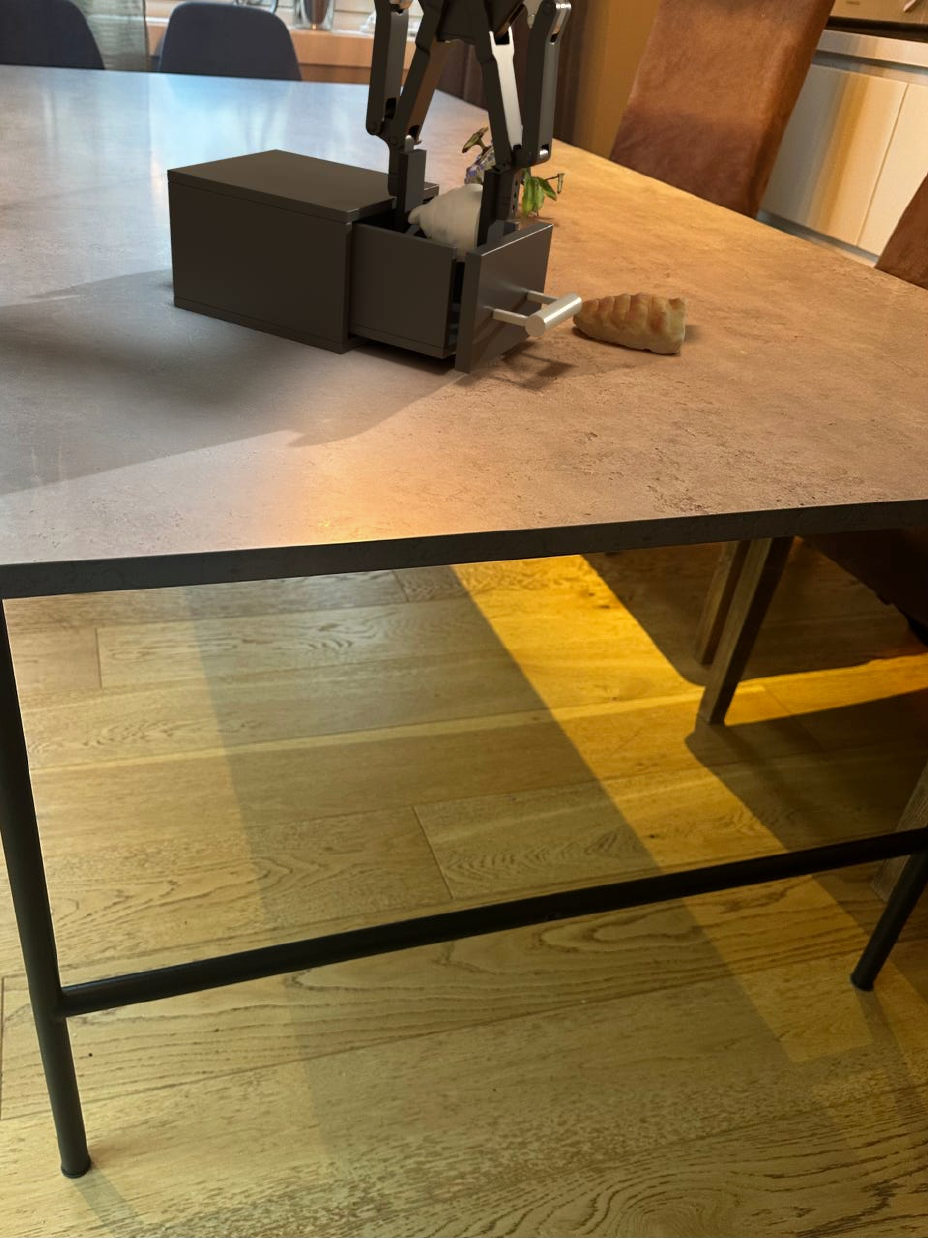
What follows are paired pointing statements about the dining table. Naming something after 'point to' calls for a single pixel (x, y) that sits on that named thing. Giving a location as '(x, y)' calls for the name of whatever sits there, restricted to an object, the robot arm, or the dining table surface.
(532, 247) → the drawer
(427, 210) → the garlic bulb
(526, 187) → the passion flower
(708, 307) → the dining table surface
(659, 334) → the pastry
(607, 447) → the dining table surface
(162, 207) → the dining table surface
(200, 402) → the dining table surface
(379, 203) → the cabinet
